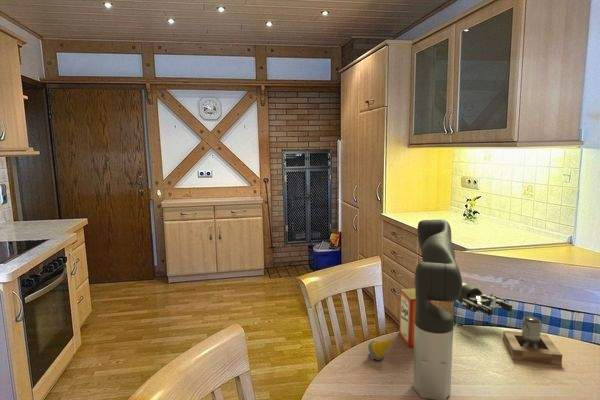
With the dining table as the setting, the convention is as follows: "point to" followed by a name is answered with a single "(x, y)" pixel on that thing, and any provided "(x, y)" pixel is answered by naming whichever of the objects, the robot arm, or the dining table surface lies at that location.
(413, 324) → the baking soda box
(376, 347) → the yellow cone tip
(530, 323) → the metal tea canister
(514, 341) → the frame
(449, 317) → the robot arm
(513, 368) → the dining table surface
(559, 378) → the dining table surface
